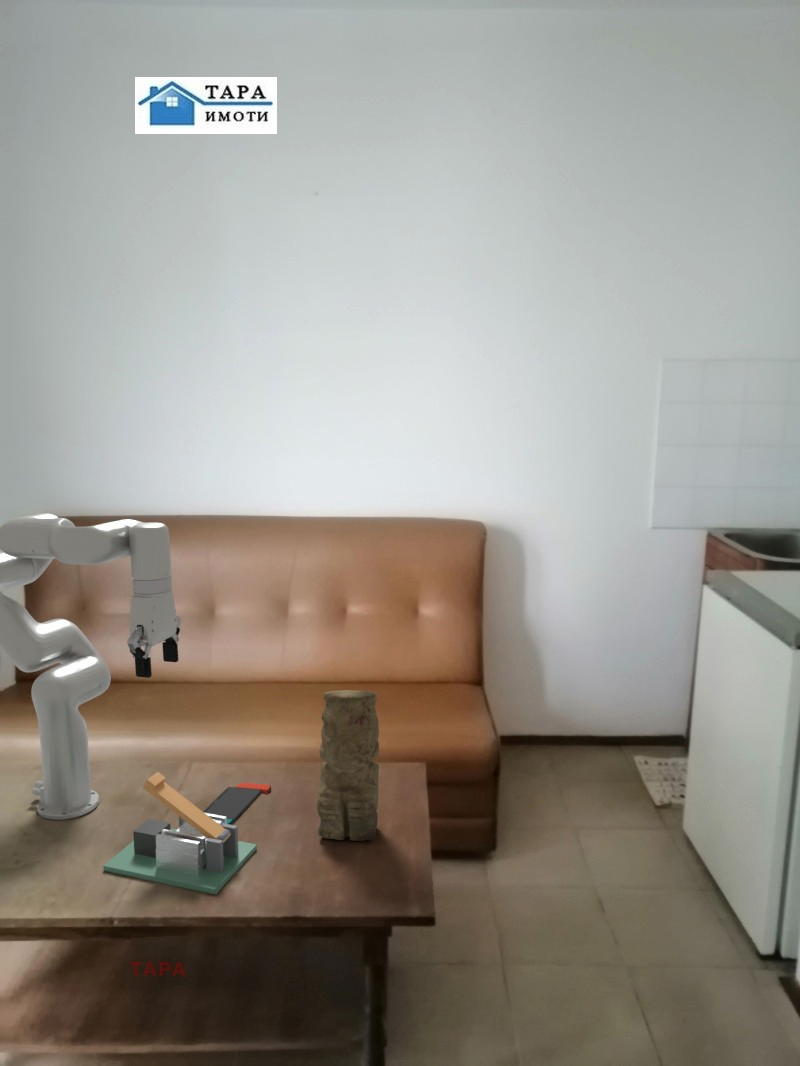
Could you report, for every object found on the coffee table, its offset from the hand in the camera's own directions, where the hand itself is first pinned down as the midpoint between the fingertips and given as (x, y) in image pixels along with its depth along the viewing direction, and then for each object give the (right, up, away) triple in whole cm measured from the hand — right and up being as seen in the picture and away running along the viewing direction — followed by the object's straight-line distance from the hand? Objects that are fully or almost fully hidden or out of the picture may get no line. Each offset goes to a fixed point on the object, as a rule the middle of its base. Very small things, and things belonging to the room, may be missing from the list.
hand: (157, 668), depth 170 cm
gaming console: (+12, -33, +17) cm, 39 cm away
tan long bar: (+7, -27, -7) cm, 29 cm away
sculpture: (+38, -35, +5) cm, 52 cm away
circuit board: (+6, -36, -5) cm, 37 cm away
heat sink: (+8, -36, -6) cm, 38 cm away
